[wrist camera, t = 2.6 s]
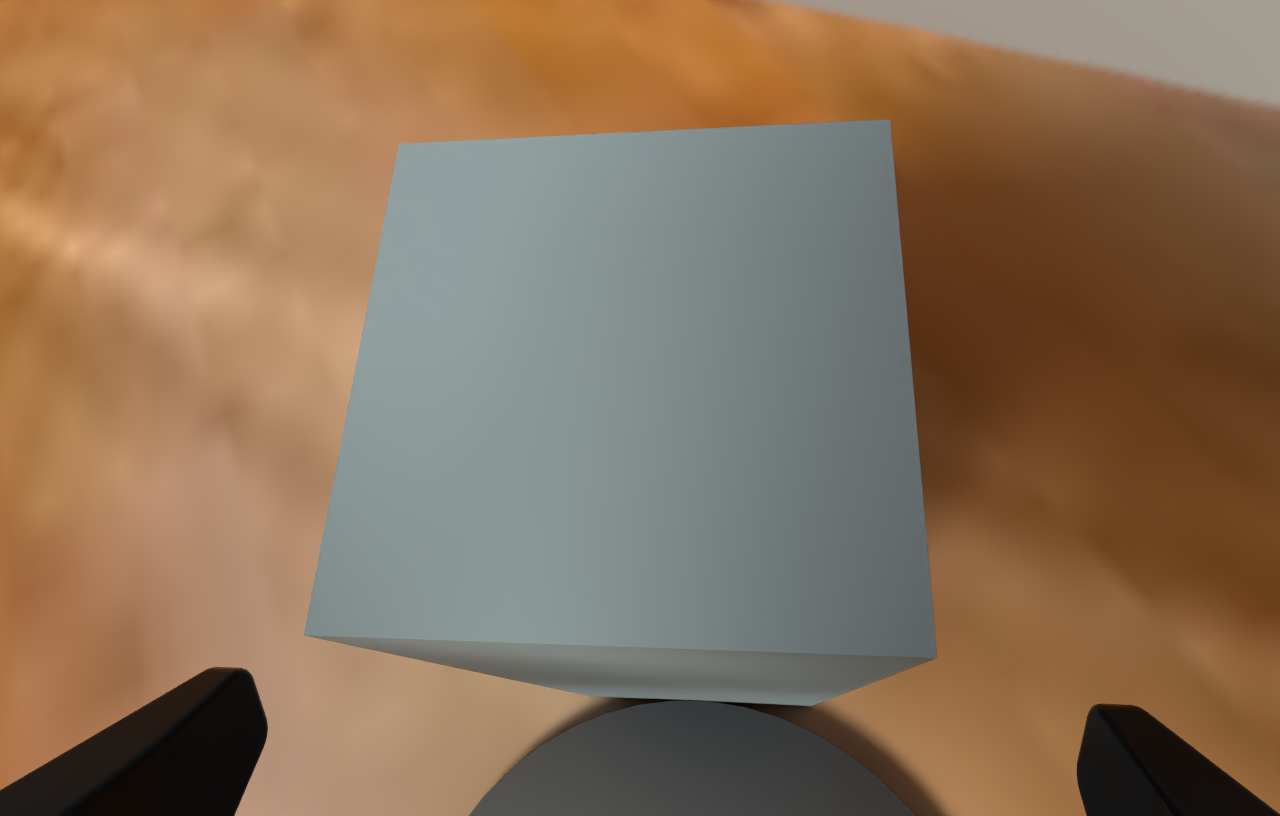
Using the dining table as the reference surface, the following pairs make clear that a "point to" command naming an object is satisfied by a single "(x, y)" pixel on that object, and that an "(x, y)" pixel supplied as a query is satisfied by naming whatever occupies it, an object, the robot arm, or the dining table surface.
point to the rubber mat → (689, 769)
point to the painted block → (637, 419)
